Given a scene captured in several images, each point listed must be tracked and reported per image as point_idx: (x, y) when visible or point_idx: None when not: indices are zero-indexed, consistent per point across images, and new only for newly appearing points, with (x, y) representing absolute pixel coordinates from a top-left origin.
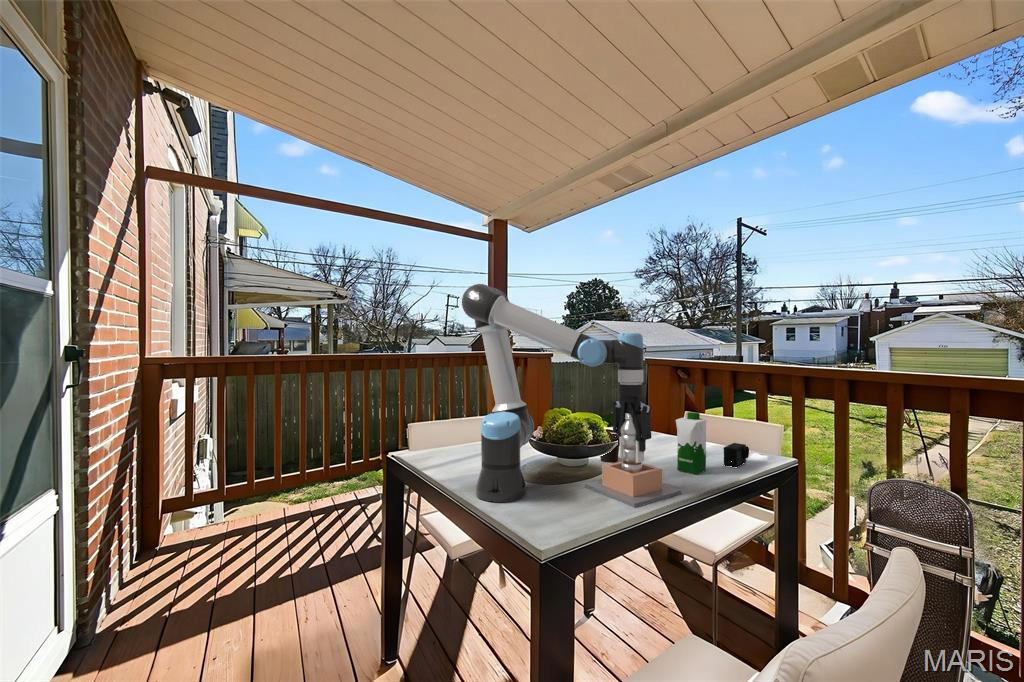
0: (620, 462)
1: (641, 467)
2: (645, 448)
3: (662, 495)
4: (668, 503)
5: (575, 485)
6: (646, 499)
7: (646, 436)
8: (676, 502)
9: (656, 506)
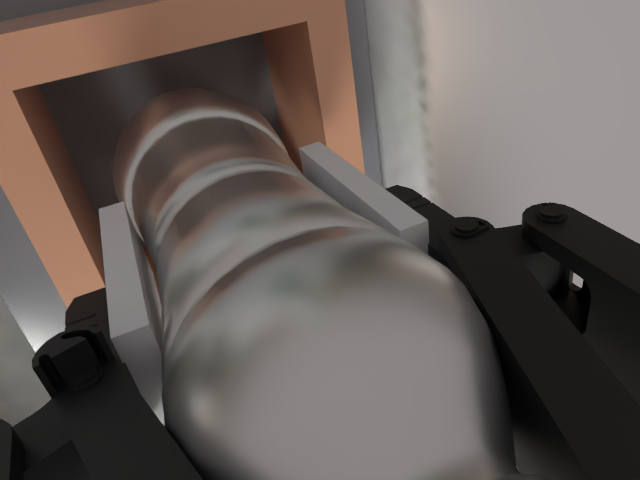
0: (36, 208)
1: (280, 140)
2: (419, 195)
3: (367, 54)
4: (411, 63)
5: (5, 403)
6: (374, 171)
7: (574, 289)
8: (420, 11)
9: (411, 144)
